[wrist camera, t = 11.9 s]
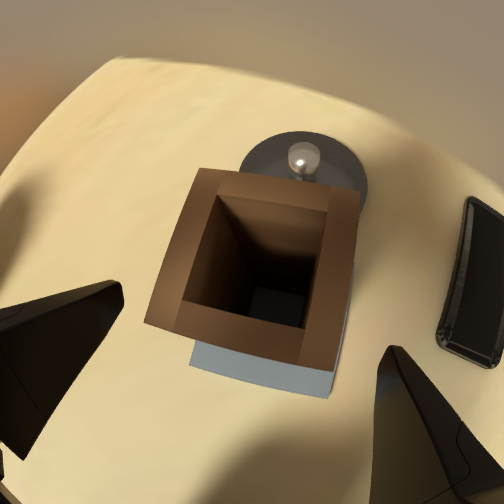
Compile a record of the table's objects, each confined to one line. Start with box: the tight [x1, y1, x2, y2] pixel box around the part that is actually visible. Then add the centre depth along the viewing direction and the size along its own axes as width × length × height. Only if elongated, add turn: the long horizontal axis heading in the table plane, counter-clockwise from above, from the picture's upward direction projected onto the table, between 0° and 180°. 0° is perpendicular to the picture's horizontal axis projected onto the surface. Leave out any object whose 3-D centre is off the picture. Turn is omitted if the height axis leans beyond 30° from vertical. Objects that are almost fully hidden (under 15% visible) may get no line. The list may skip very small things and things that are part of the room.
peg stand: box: [239, 131, 367, 213], centre depth 22 cm, size 11×11×4 cm
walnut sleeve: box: [143, 168, 360, 372], centre depth 14 cm, size 6×6×12 cm
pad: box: [189, 263, 354, 399], centre depth 20 cm, size 10×10×1 cm
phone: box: [436, 196, 504, 369], centre depth 18 cm, size 8×1×15 cm
